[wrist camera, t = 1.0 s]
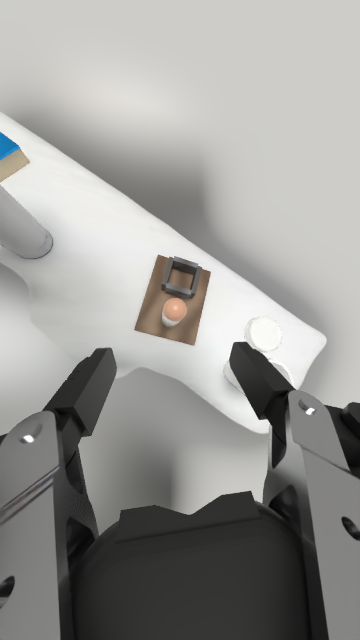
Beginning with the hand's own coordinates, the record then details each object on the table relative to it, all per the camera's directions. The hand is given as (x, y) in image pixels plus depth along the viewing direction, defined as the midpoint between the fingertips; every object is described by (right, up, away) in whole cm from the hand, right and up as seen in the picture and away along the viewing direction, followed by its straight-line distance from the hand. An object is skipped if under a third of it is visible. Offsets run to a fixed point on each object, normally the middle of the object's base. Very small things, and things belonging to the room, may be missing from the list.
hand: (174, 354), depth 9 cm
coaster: (+24, -2, +32) cm, 40 cm away
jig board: (-1, +8, +29) cm, 30 cm away
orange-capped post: (-2, +3, +27) cm, 27 cm away
